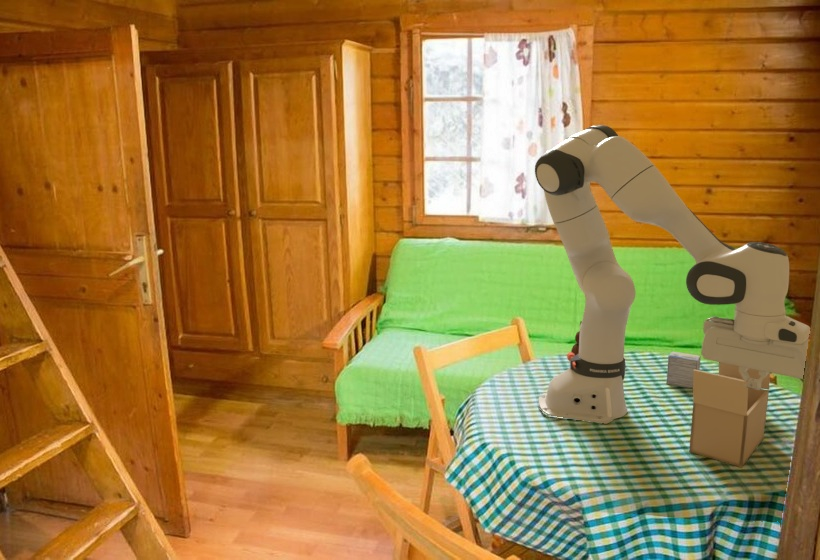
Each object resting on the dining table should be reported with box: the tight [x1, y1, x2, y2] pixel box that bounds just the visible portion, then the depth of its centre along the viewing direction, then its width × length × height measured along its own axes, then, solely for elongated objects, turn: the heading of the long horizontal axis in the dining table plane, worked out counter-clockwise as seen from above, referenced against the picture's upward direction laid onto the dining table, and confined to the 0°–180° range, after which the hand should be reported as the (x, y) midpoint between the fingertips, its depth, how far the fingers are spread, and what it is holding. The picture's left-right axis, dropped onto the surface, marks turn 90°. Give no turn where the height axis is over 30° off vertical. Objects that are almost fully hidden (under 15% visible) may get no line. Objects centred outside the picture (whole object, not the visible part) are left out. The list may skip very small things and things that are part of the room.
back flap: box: [718, 362, 771, 391], centre depth 150 cm, size 11×8×1 cm
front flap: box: [692, 369, 748, 416], centre depth 138 cm, size 11×8×1 cm
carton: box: [688, 388, 770, 468], centre depth 147 cm, size 11×17×12 cm, turn 138°
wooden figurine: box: [570, 320, 582, 355], centre depth 196 cm, size 7×6×15 cm
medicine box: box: [666, 351, 702, 389], centre depth 182 cm, size 8×4×9 cm, turn 58°
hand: (752, 387), depth 133 cm, fingers closed
